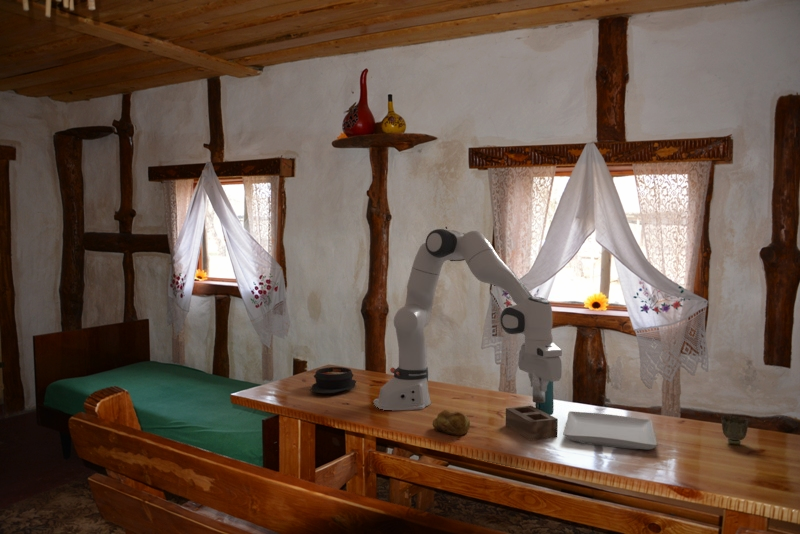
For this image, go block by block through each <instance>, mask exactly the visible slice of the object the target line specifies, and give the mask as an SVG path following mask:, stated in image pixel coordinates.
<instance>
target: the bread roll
mask: <svg viewBox="0 0 800 534" xmlns="http://www.w3.org/2000/svg"><path fill="white" fill-rule="evenodd" d="M432 427H433V428H434V429H435V430H436V431H439V432H442V431H443V433H445V434H447V435H450V434H451V435H452V436H461V435H462V434H463V435H466V434H467V432H468V431H469V430H470V427H471V422H470V419H469V417H468V416H467V414H464V413H463V412H461V411H454V412H453V411H451V410H449V409H444V410H442V411H440V412H439V413H438V414H437V416H436V418H435V419H434V420H432ZM463 435H462V436H463Z"/></svg>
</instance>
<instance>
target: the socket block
mask: <svg viewBox="0 0 800 534" xmlns="http://www.w3.org/2000/svg"><path fill="white" fill-rule="evenodd" d="M558 421H559V420H558V418H557V417H555V416H553V415H549V414H547V413H545V412H543V411H541V410H539V409H537V408H536V407H535V406H533V405H523V406H514V407H506V408H505V426H506V427H508V428H509V429H510V430H512V431H513V432H516V433H517V434H519V435H520V436H522V437H524V438H526V439H527V440H529V441H531V440H532V441H537V440H539V441H540V440H546V439H553V438H554V439H555V438H558V430H559V429H558V428H559V427H558ZM532 441H531V442H532Z"/></svg>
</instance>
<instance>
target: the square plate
mask: <svg viewBox="0 0 800 534" xmlns="http://www.w3.org/2000/svg"><path fill="white" fill-rule="evenodd" d="M563 435H564V436H565V437H566V438H567V439H568V440H569V441H573V442H578V443H583V444H587V445H596V446H605V447H614V448H621V449H632V450H653V449H655V448H656V447H657V446H658V440H657V437H656V434H655V427H654V422H653V420H652V419H648V418H639V417H632V416H631V417H630V416H624V415H617V414H608V413H607V414H606V413H596V412H586V411H585V412H584V411H583V412H582V411H572V410H570V411H568V414H567V420H566V423H565V426H564V430H563Z"/></svg>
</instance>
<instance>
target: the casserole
mask: <svg viewBox="0 0 800 534" xmlns="http://www.w3.org/2000/svg"><path fill="white" fill-rule="evenodd" d="M354 376H355V375H354V373H353V371H352V369H350V368H347V367H342V366H329V367H322V368H319V369H317V370H316V371H315V374H314V375H313V377H314V379H315V383H313V384H312V385H311V387H310V389H309V391H311V392H312V393H317V394H327V395H328V394H337V393H344V392H347V391H348V390H349V391H350V390H351V389H353V388H355V387H356V383H357V380H355V379H353V377H354Z"/></svg>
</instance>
